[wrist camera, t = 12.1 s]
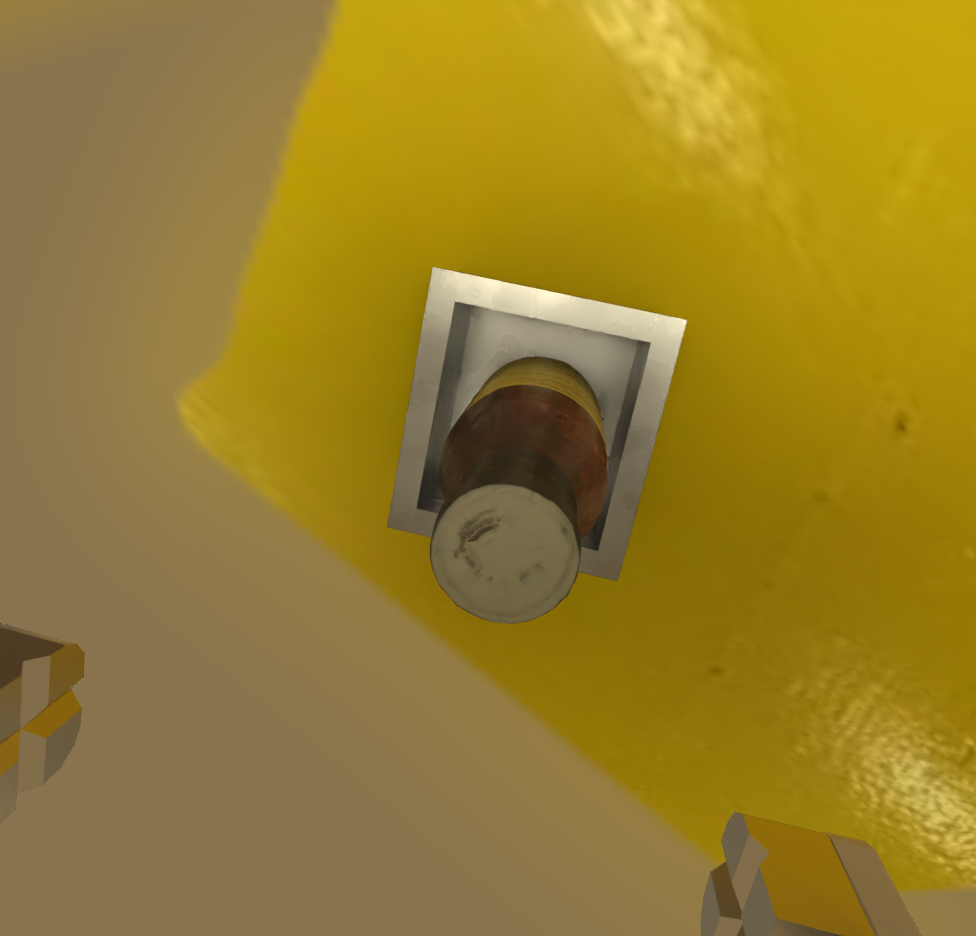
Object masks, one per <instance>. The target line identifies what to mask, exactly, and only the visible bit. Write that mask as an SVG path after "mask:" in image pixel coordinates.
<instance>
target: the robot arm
mask: <svg viewBox="0 0 976 936" xmlns="http://www.w3.org/2000/svg"><path fill="white" fill-rule="evenodd" d="M84 655H85V653H84V652H83V651H82V649H81V648H80V647H79V646H78V645H77V644H74V643H71V642H67V641H64V640H61V639H57V638H53V637H50V636H46V635H43V634H39V633H35V632H32V631H28V630H24V629H21V628H17V627H13V626H10V625H7V624H5V625H3V624H1V623H0V824H1V823H2V822H3V821H4V820H5V819H6V818H7V817H8V816H9V815H10V814H12V813H13V812H14V811H15V808H16V799H17V794H18V793H21V792H24V791H27V790H29V789H32V788H35V787H38V786H41V785H43V784H44V783H45V782H46V781H47V780H49V779H50V778H51V777H52V776H53V775H54V774H55V773H56V772H57V771H58V770H59V769H60V768H61V766H62V765H63V763H64V761H65V760H66V758H67V756H68V755H69V753H70V752H71V750H72V749H73V747H74V745H75V742H76V739H77V735H78V732H79V729H80V723H81V711H82V708H81V706H80V704H79V702H78V701H77V699H76V697H75V695H74V693H73V692H72V690H71V689H72V688H73V687H74V686H75V685H76V684H77V683H78V682H79V681H80V680H81V679H82V678H83V677H84ZM721 842H722V846H723V850H724V854H725V858H726V862H724V863H723V864H721V865H720V866H719V867H717V868H716V869H714V870H713V871H711V872H710V876H709V879H708V882H707V886H706V890H705V893H704V896H703V905H702V913H701V936H921V934H920V932H919V930H918V928H917V926H916V925H915V923H914V921H913V919H912V917H911V915H910V913H909V912H908V910H907V908H906V906H905V904H904V902H903V900H902V899H901V897H900V895H899V893H898V891H897V889H896V887H895V886H894V884H893V882H892V880H891V878H890V876H889V874H888V873H887V871H886V869H885V867H884V865H883V863H882V861H881V860H880V858H879V856H878V854H877V852H876V850H875V849H874V848H873V847H872V846H871V845H869V844H868V843H867V842H866V841H862V840H858V839H853V838H849V837H844V836H839V835H835V834H830V833H826V832H817V831H813V830H809V829H804V828H800V827H796V826H792V825H788V824H783V823H779V822H775V821H771V820H766V819H762V818H758V817H754V816H750V815H745V814H741V813H737V812H734V813H733V815H732V816H731V818H730V819H729V821H728V822H727V825H726V828H725V831H724V834H723V837H722V839H721Z"/></svg>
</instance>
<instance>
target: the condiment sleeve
mask: <svg viewBox="0 0 976 936" xmlns="http://www.w3.org/2000/svg"><path fill="white" fill-rule="evenodd" d="M686 322H687V320H685V319H680V318H676V317H672V316H668V315H663V314H658V313H653V312H649V311H644V310H639V309H634V308H630V307H625V306H620V305H615V304H610V303H606V302H601V301H596V300H591V299H586V298H582V297H577V296H572V295H567V294H562V293H558V292H553V291H548V290H543V289H538V288H534V287H529V286H524V285H519V284H514V283H510V282H505V281H500V280H495V279H490V278H486V277H481V276H476V275H471V274H466V273H462V272H457V271H451V270H446V269H441V268H435V267H433V269H432V274H431V280H430V286H429V291H428V297H427V303H426V308H425V314H424V320H423V325H422V331H421V337H420V342H419V348H418V354H417V359H416V365H415V371H414V376H413V382H412V388H411V393H410V399H409V405H408V410H407V416H406V422H405V427H404V433H403V439H402V444H401V450H400V456H399V462H398V467H397V473H396V479H395V484H394V490H393V496H392V501H391V507H390V513H389V518H388V524H387V527H389V528H393V529H398V530H402V531H406V532H410V533H415V534H419V535H423V536H428V537H432V531H433V528H434V524H435V521H436V518H437V515H438V513H439V511H440V509H441V507H442V505H443V504H444V502H445V501H444V499H443V496H442V493H441V488H440V484H439V464H440V457H441V453H442V449H443V446H444V443H445V441H446V439H447V437H448V435H449V432H450V431H451V429H452V428H453V426H454V424H455V423H456V421H457V420H458V418H459V417H460V415H461V414H462V413H463V412H464V410H465V409H466V407H467V406H468V405H469V403H470V402H471V401H472V400H473V397H474V396H475V395H476V394H477V393H478V392H479V390H480V389H481V388H482V386H483V385H484V383H485V382H486V381H487V379H488V378H489V377H490V376H491V375H492V374H494V373H495V372H496V371H497V370H498V369H500V368H501V367H503V366H504V365H506V364H508V363H510V362H512V361H515V360H518V359H521V358H523V357H535V356H537V357H546V358H551V359H556V360H559V361H564V362H565V363H567V364H569V365H571V366H572V367H573V368H574V369H576V370H577V371H578V372H580V373H581V375H582V376H583V377H584V378H585V379H586V380H587V382H588V383H589V385H590V386H591V388H592V389H593V391H594V394H595V396H596V398H597V402H598V405H599V410H600V415H601V421H602V427H603V433H604V439H605V445H606V451H607V476H608V479H607V490H606V494H605V499H604V504H603V505H602V508H601V512H600V514H599V516H598V518H597V519H596V522H595V523H594V526H593V529H592V531H590V532H589V533H588V534H587V535H586V536H585V537H584V538H583V539H581V558H580V566H579V570H578V572H581V573H585V574H589V575H594V576H598V577H602V578H607V579H611V580H615V581H618V579H619V575H620V571H621V567H622V563H623V560H624V556H625V552H626V548H627V545H628V541H629V537H630V533H631V530H632V526H633V522H634V518H635V514H636V511H637V507H638V503H639V499H640V496H641V492H642V488H643V484H644V480H645V477H646V473H647V469H648V465H649V462H650V458H651V454H652V450H653V446H654V443H655V439H656V435H657V431H658V428H659V424H660V420H661V416H662V412H663V409H664V405H665V401H666V397H667V394H668V390H669V386H670V382H671V379H672V375H673V371H674V367H675V363H676V360H677V356H678V352H679V348H680V345H681V341H682V337H683V333H684V329H685V326H686Z"/></svg>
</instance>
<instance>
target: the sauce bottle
mask: <svg viewBox="0 0 976 936" xmlns="http://www.w3.org/2000/svg"><path fill="white" fill-rule="evenodd" d="M607 479H608V476H607V451H606V445H605V439H604V433H603V427H602V421H601V415H600V410H599V405H598V402H597V398H596V396H595V394H594V391H593V389H592V388H591V386H590V385H589V383H588V382H587V380H586V379H585V378H584V377H583V376H582V375H581V373H580V372H578V371H577V370H576V369H574V368H573V367H572V366H571V365H569V364H567V363H565V362H564V361H559V360H556V359H551V358H546V357H537V356H535V357H523V358H521V359H518V360H515V361H512V362H510V363H508V364H506V365H504V366H503V367H501V368H500V369H498V370H497V371H496V372H495V373H494V374H492V375H491V376H490V377H489V378H488V379H487V381H486V382H485V383H484V385H483V386H482V388H481V389H480V390H479V392H478V393H477V394H476V395H475V396H474V397H473V400H472V401H471V402H470V403H469V405H468V406H467V407H466V409H465V410H464V412H463V413H462V414H461V415H460V417H459V418H458V420H457V421H456V423H455V424H454V426H453V428H452V429H451V431H450V432H449V435H448V437H447V439H446V441H445V443H444V446H443V449H442V453H441V457H440V464H439V484H440V488H441V493H442V496H443V499H444V501H445V502H444V504H443V505H442V507H441V509H440V511H439V513H438V515H437V518H436V521H435V524H434V528H433V531H432V539H431V544H430V560H431V564H432V569H433V572H434V574H435V577H436V579H437V581H438V583H439V585H440V587H441V588H442V589H443V590H444V591H445V593H446V594H447V595H448V596H449V597H450V598H451V599H452V600H453V602H454V603H455V604H456V605H457V606H458V607H460V608H462V609H463V610H465V611H467V612H469V613H471V614H472V615H475V616H477V617H479V618H482V619H485V620H488V621H491V622H497V623H508V624H513V623H519V622H526V621H529V620H533V619H535V618H538V617H540V616H542V615H544V614H546V613H547V612H549V611H551V610H552V609H553V608H555V607H556V606H557V605H558V604H559V603H560V602H561V601H562V600H563V599H564V598H565V597H567V596H568V593H569V591H570V589H571V587H572V586H573V584H574V582H575V580H576V577H577V574H578V570H579V566H580V558H581V539H583V538H584V537H585V536H586V535H587V534H588V533H589V532H590V531H592V529H593V526H594V523H595V522H596V519H597V518H598V516H599V514H600V512H601V508H602V505H603V504H604V499H605V494H606V490H607Z"/></svg>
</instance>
